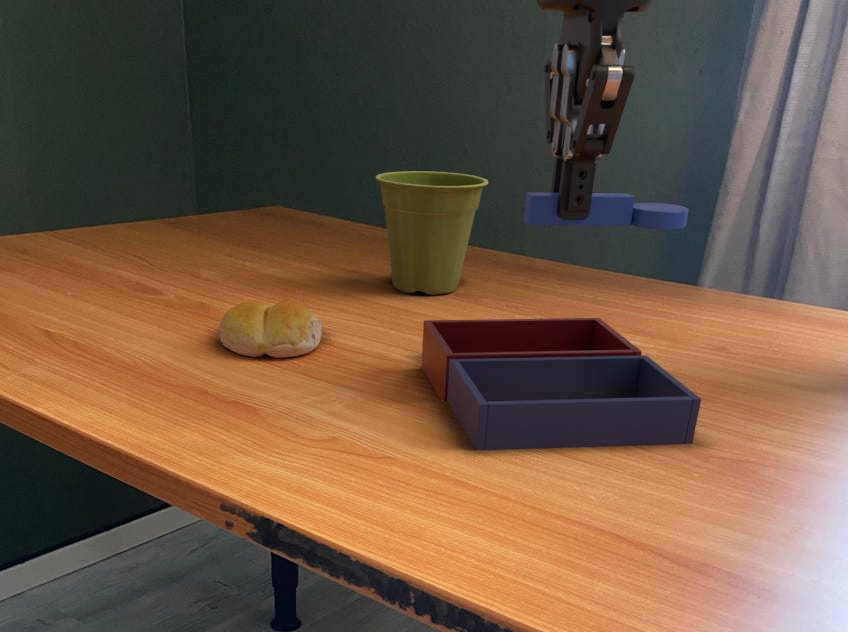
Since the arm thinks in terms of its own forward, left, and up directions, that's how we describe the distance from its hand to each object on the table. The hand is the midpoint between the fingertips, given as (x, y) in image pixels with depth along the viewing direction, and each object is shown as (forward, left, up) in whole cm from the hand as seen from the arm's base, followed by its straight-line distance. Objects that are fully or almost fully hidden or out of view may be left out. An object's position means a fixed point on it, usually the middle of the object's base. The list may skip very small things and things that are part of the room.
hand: (568, 215), depth 72 cm
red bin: (+1, -3, -13) cm, 14 cm away
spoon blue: (-3, 0, -1) cm, 3 cm away
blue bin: (+1, +8, -13) cm, 16 cm away
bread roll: (+21, -15, -14) cm, 29 cm away
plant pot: (+3, -37, -14) cm, 40 cm away
